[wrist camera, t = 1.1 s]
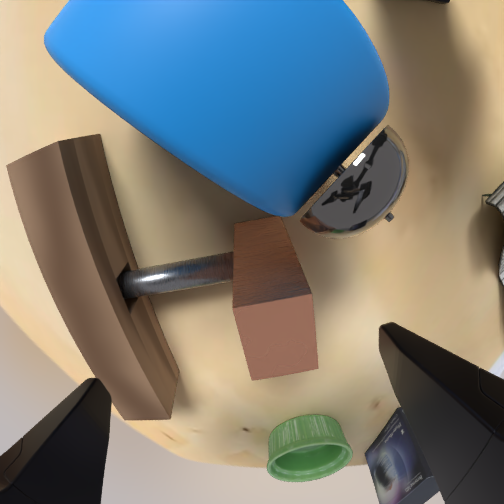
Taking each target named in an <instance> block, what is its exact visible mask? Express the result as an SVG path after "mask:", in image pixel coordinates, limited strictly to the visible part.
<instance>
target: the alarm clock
mask: <svg viewBox="0 0 504 504" xmlns="http://www.w3.org/2000/svg"><path fill="white" fill-rule="evenodd" d="M44 44H45V46H46V49H47V51H48V53H49V54H50V56H51V57H52V58H53V59H54V61H55V62H56V63H57V64H58V65H59V66H60V67H61V68H62V69H63V70H64V71H65V72H66V73H67V74H68V75H69V76H71V77H72V78H73V79H74V80H75V81H76V82H77V83H78V84H80V85H81V86H82V87H83V88H84V89H86V90H87V91H88V92H89V93H90V94H92V95H93V96H94V97H95V98H97V99H98V100H99V101H100V102H102V103H103V104H104V105H105V106H107V107H108V108H109V109H111V110H112V111H113V112H115V113H116V114H117V115H119V116H120V117H121V118H122V119H124V120H125V121H127V122H128V123H129V124H131V125H132V126H133V127H135V128H136V129H137V130H139V131H140V132H141V133H143V134H144V135H146V136H147V137H148V138H150V139H151V140H153V141H154V142H155V143H157V144H158V145H160V146H161V147H162V148H164V149H165V150H167V151H168V152H170V153H171V154H173V155H174V156H175V157H177V158H178V159H180V160H181V161H183V162H184V163H186V164H187V165H189V166H190V167H192V168H193V169H195V170H196V171H198V172H199V173H201V174H202V175H204V176H205V177H207V178H208V179H210V180H211V181H213V182H214V183H216V184H217V185H219V186H221V187H222V188H224V189H225V190H227V191H229V192H230V193H232V194H234V195H235V196H237V197H239V198H240V199H242V200H244V201H246V202H247V203H249V204H251V205H253V206H255V207H257V208H259V209H261V210H263V211H265V212H267V213H270V214H272V215H276V216H281V217H288V216H292V215H294V214H295V213H296V212H297V211H298V210H299V209H300V208H301V207H302V206H303V205H304V204H305V203H306V202H307V201H308V200H309V198H310V197H311V196H312V195H313V194H314V193H315V192H316V191H317V190H318V189H319V188H320V187H321V186H322V184H323V183H324V182H325V181H326V180H327V179H328V178H329V177H330V176H331V175H332V174H334V176H336V177H337V178H338V179H337V180H336V181H335V182H334V183H333V184H332V185H331V186H330V187H329V188H328V189H327V190H326V192H325V193H324V194H323V195H322V196H321V197H320V198H319V199H318V200H317V201H316V202H315V204H314V205H313V206H312V207H311V208H310V209H309V210H308V211H307V212H306V214H305V215H304V216H303V217H302V218H301V219H300V222H301V223H302V224H303V225H304V226H305V227H306V228H308V229H309V230H311V231H312V232H313V233H315V234H317V235H320V236H322V237H326V238H332V239H341V238H349V237H352V236H356V235H359V234H361V233H364V232H366V231H368V230H370V229H372V228H373V227H374V226H376V225H377V224H378V223H379V222H380V221H382V220H383V219H386V220H387V221H388V222H390V221H391V220H392V219H393V218H394V216H393V214H392V213H391V210H392V209H393V208H394V207H395V205H396V204H397V203H398V201H399V200H400V198H401V196H402V194H403V191H404V189H405V186H406V183H407V178H408V173H409V159H408V154H407V150H406V147H405V145H404V143H403V141H402V139H401V138H400V137H399V135H398V134H397V133H396V132H395V131H394V130H393V129H392V128H391V127H390V126H389V125H387V126H386V127H385V128H384V129H383V130H382V131H381V132H380V133H379V135H378V136H377V137H376V138H375V139H374V140H373V141H372V142H371V143H370V144H369V145H368V146H367V147H366V148H365V149H364V151H363V152H362V153H361V154H360V155H359V156H358V157H357V158H356V159H355V160H354V161H353V162H352V163H351V164H350V166H349V167H348V168H347V169H346V168H345V167H344V166H343V165H342V163H343V162H344V161H345V160H346V159H347V158H348V157H349V155H350V154H351V153H352V152H353V151H354V150H355V149H356V148H357V147H358V146H359V145H360V144H361V142H362V141H363V140H364V139H365V138H366V137H367V136H368V135H369V134H370V133H371V132H372V131H373V130H374V128H375V127H376V126H377V125H378V124H379V123H380V122H381V121H382V120H383V118H384V116H385V115H386V113H387V110H388V106H389V86H388V81H387V76H386V73H385V70H384V67H383V64H382V62H381V60H380V57H379V55H378V53H377V51H376V49H375V47H374V45H373V43H372V42H371V40H370V38H369V36H368V35H367V33H366V31H365V30H364V28H363V27H362V25H361V24H360V22H359V21H358V19H357V18H356V16H355V15H354V14H353V12H352V11H351V10H350V9H349V7H348V6H347V5H346V4H345V2H344V1H343V0H69V1H68V3H67V4H66V5H65V7H64V8H63V9H62V10H61V12H60V13H59V14H58V16H57V17H56V18H55V20H54V21H53V22H52V24H51V25H50V27H49V28H48V29H47V31H46V33H45V35H44Z"/></svg>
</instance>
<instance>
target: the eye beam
mask: <svg viewBox="0 0 504 504" xmlns="http://www.w3.org/2000/svg"><path fill="white" fill-rule="evenodd" d="M6 166H7V170H8V174H9V178H10V182H11V186H12V189H13V193H14V196H15V200H16V203H17V206H18V210H19V213H20V216H21V219H22V222H23V225H24V228H25V231H26V234H27V237H28V239H29V242H30V245H31V247H32V250H33V253H34V255H35V258H36V260H37V263H38V265H39V268H40V270H41V273H42V275H43V277H44V280H45V282H46V284H47V286H48V289H49V291H50V293H51V295H52V297H53V300H54V302H55V304H56V306H57V308H58V310H59V312H60V314H61V316H62V318H63V320H64V322H65V324H66V326H67V328H68V330H69V332H70V334H71V335H72V337H73V339H74V341H75V343H76V345H77V346H78V348H79V350H80V352H81V353H82V355H83V357H84V359H85V360H86V362H87V364H88V365H89V367H90V369H91V370H92V372H93V374H94V375H95V377H96V378H99V379H100V380H101V381H102V383H103V384H104V386H105V387H106V389H107V390H108V391H109V393H110V395H111V398H112V403H113V405H114V406H115V407H116V409H117V410H118V412H119V413H120V415H121V416H122V417H123V419H124V420H167V419H171V413H172V408H173V402H174V396H175V391H176V385H177V380H178V374H179V369H178V367H177V365H176V363H175V360H174V358H173V356H172V354H171V351H170V349H169V347H168V344H167V342H166V339H165V337H164V335H163V332H162V330H161V327H160V325H159V322H158V320H157V317H156V315H155V312H154V310H153V307H152V305H151V302H150V299H149V297H148V296H142V297H135V298H129V299H124V298H123V296H122V293H121V291H120V288H119V286H118V283H117V281H116V279H117V277H118V276H119V274H120V273H121V272H126V271H131V270H137V269H138V266H137V263H136V260H135V258H134V255H133V252H132V249H131V246H130V242H129V239H128V236H127V233H126V230H125V227H124V223H123V220H122V217H121V214H120V210H119V207H118V203H117V200H116V196H115V193H114V189H113V185H112V182H111V178H110V174H109V170H108V166H107V162H106V158H105V154H104V150H103V146H102V142H101V137H100V134H96V135H90V136H84V137H78V138H72V139H67V140H62V141H58V142H55V143H53V144H51V145H48V146H46V147H44V148H41V149H39V150H37V151H35V152H33V153H31V154H29V155H26V156H24V157H22V158H20V159H18V160H16V161H14V162H12V163H10V164H8V165H6Z"/></svg>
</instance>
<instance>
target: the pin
mask: <svg viewBox="0 0 504 504" xmlns="http://www.w3.org/2000/svg"><path fill="white" fill-rule="evenodd" d="M116 281H117V283H118V286H119V288H120V291H121V293H122V296H123V298H124V299H129V298H135V297H142V296H148V295H154V294H160V293H166V292H172V291H178V290H184V289H190V288H196V287H202V286H208V285H214V284H220V283H225V282H231V281H233V312H234V316H235V320H236V324H237V327H238V331H239V335H240V339H241V342H242V346H243V350H244V354H245V357H246V361H247V365H248V368H249V372H250V376H251V379H252V380H259V379H265V378H271V377H277V376H283V375H288V374H294V373H299V372H304V371H309V370H314V369H318V355H317V343H316V331H315V320H314V310H313V300H312V293H311V290H310V288H309V285H308V283H307V280H306V278H305V275H304V273H303V270H302V268H301V265H300V263H299V260H298V258H297V256H296V253H295V251H294V248H293V246H292V243H291V241H290V239H289V236H288V234H287V231H286V229H285V227H284V224H283V222H282V219H281V217H280V216H273V217H268V218H262V219H257V220H251V221H246V222H241V223H236V224H235V229H234V251H233V252H228V253H222V254H217V255H211V256H206V257H201V258H195V259H190V260H185V261H179V262H174V263H169V264H163V265H158V266H153V267H147V268H142V269H137V270H131V271H126V272H121V273H120V274H119V276H118V277H117V279H116Z"/></svg>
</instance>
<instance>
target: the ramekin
mask: <svg viewBox="0 0 504 504" xmlns="http://www.w3.org/2000/svg"><path fill="white" fill-rule="evenodd" d="M352 455H353V452H352V449H351V447H350V445H349V444H348V443H347V441H346V439H345V437H344V434H343V432H342V429H341V427H340V425H339V423H338V422H337V421H336V420H335V419H333V418H331V417H328V416H324V415H305V416H300V417H296V418H293V419H290V420H288V421H285V422H284V423H282V424H280V425H279V426H277V427H276V428H275V429H274V430H273V431H272V433H271V434H270V437H269V460H268V463H267V471H268V473H269V474H270V475H271V476H272V477H274V478H276V479H278V480H282V481H287V482H305V481H312V480H316V479H320V478H323V477H326V476H329V475H331V474H333V473H335V472H337V471H339V470H340V469H342V468H343V467H344V466H346V465H347V464H348V463H349V461H350V460H351V458H352Z"/></svg>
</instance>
